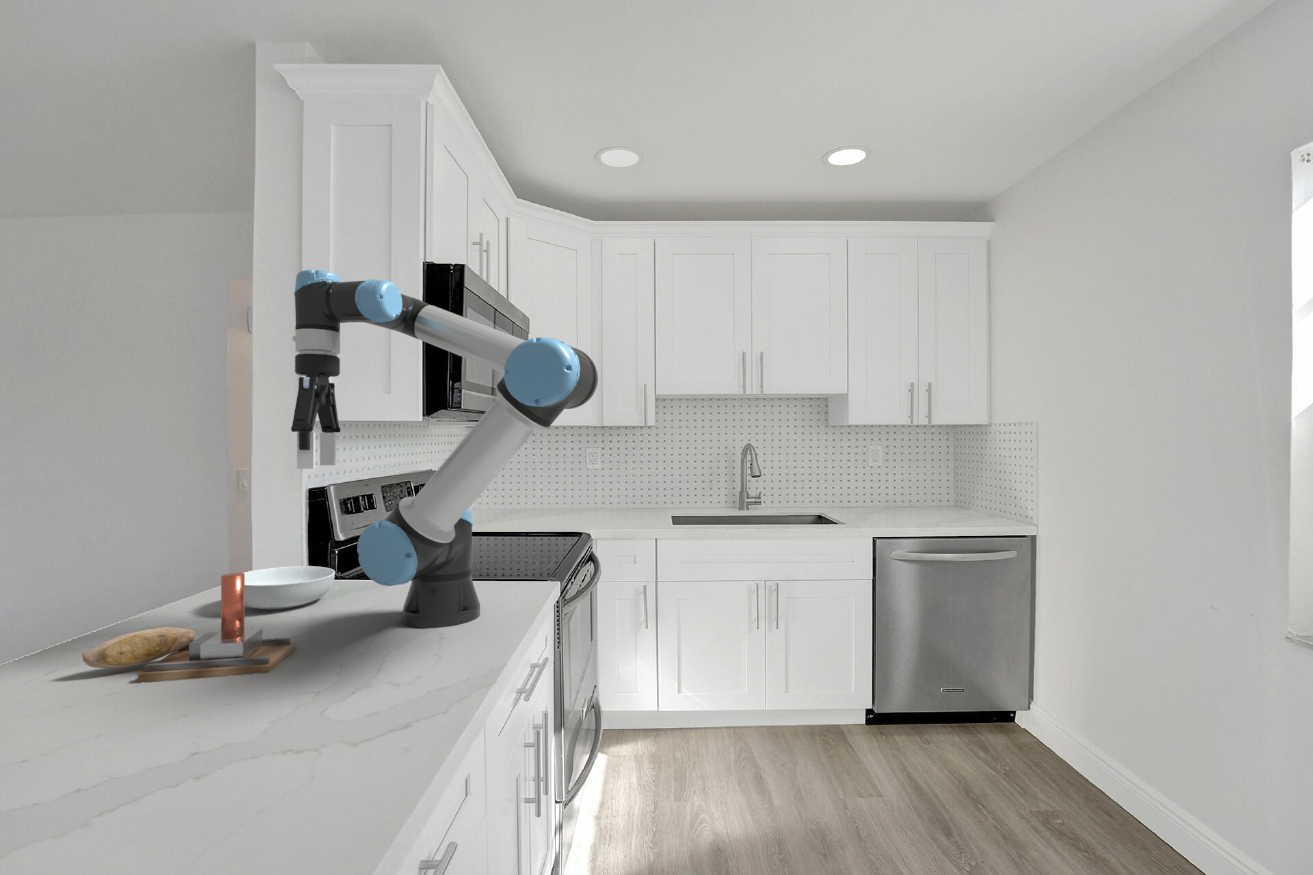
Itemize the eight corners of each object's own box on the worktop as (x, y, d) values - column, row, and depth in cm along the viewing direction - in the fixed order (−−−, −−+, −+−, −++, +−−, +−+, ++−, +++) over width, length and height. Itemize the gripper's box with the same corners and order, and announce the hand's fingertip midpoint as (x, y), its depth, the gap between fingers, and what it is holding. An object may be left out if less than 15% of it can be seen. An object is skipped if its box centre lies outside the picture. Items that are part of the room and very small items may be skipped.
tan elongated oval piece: (192, 618, 107) (192, 619, 110) (78, 644, 98) (82, 644, 102) (197, 649, 106) (196, 649, 110) (83, 679, 98) (86, 678, 101)
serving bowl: (303, 618, 133) (303, 585, 133) (202, 618, 133) (202, 584, 133) (352, 594, 154) (352, 565, 154) (265, 593, 154) (265, 564, 154)
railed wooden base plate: (295, 650, 113) (295, 636, 113) (269, 675, 101) (269, 659, 101) (178, 657, 109) (178, 642, 109) (138, 683, 97) (138, 667, 97)
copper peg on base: (262, 645, 110) (262, 569, 110) (243, 661, 102) (243, 579, 102) (209, 648, 108) (210, 571, 108) (185, 664, 101) (186, 581, 101)
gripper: (316, 361, 133) (316, 464, 133) (271, 344, 109) (270, 470, 109) (355, 362, 135) (355, 464, 135) (319, 346, 111) (319, 470, 111)
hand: (317, 467), depth 122 cm, fingers open, 13 cm apart
